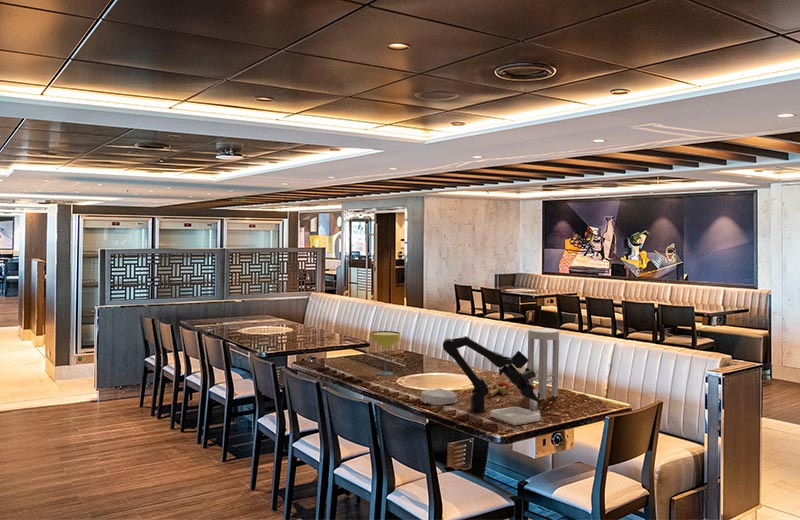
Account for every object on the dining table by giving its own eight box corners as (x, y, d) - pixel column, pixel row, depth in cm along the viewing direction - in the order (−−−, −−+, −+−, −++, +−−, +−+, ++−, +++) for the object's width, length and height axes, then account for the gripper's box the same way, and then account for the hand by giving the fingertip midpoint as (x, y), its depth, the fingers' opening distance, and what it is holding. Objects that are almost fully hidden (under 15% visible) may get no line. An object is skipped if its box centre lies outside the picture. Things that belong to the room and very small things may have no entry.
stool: (563, 396, 343) (564, 330, 342) (544, 400, 333) (545, 333, 332) (540, 391, 355) (541, 327, 354) (521, 395, 346) (522, 329, 345)
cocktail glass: (393, 378, 384) (394, 335, 383) (365, 375, 390) (366, 333, 389) (404, 372, 400) (404, 332, 400) (377, 370, 407) (377, 330, 406)
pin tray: (490, 416, 301) (490, 410, 301) (516, 412, 310) (516, 406, 309) (513, 425, 288) (513, 418, 287) (540, 420, 296) (540, 414, 296)
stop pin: (524, 412, 311) (524, 383, 310) (533, 410, 314) (534, 382, 314) (533, 414, 306) (533, 386, 305) (542, 413, 309) (543, 385, 308)
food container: (413, 398, 337) (413, 385, 337) (448, 395, 344) (448, 382, 344) (428, 408, 318) (428, 394, 318) (465, 404, 325) (465, 391, 325)
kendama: (497, 401, 337) (513, 390, 351) (495, 389, 336) (510, 379, 351) (484, 401, 341) (500, 391, 356) (482, 390, 341) (498, 379, 355)
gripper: (528, 367, 300) (552, 391, 300) (523, 360, 319) (545, 382, 318) (511, 383, 301) (535, 408, 300) (506, 375, 319) (528, 398, 319)
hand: (536, 398), depth 310 cm, fingers open, 9 cm apart
